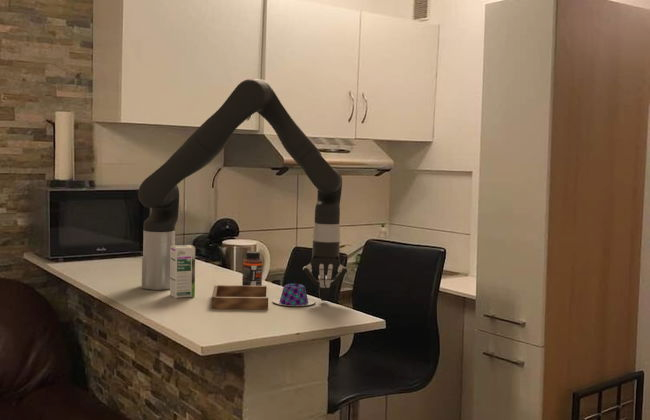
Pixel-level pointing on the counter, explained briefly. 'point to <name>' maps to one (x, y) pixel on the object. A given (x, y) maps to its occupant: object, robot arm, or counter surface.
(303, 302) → the pudding
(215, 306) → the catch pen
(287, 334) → the counter surface
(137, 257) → the counter surface
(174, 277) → the syrup box
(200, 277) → the counter surface
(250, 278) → the supplement bottle
